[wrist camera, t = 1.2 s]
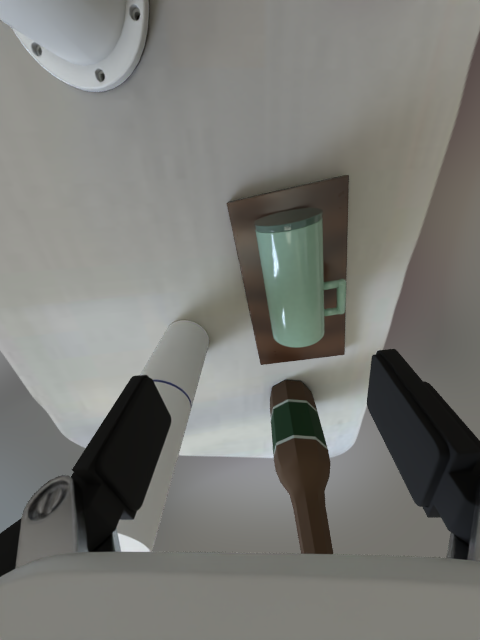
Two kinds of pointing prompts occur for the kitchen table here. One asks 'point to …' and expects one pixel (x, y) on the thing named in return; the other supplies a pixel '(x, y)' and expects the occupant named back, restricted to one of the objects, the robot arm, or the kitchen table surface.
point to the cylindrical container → (178, 394)
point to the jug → (296, 275)
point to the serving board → (335, 221)
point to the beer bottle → (302, 462)
